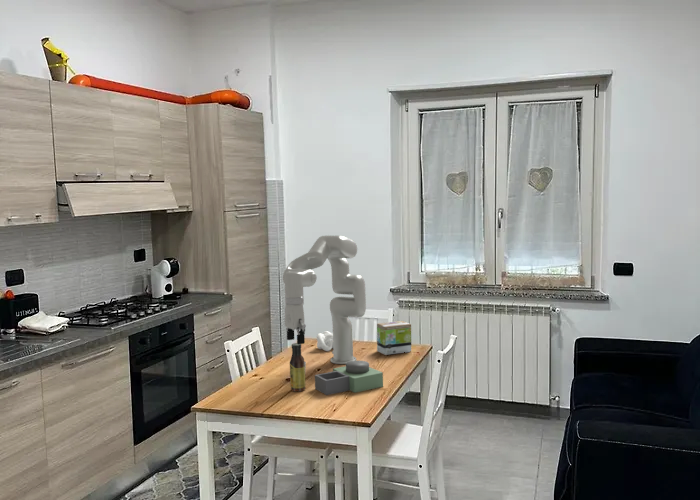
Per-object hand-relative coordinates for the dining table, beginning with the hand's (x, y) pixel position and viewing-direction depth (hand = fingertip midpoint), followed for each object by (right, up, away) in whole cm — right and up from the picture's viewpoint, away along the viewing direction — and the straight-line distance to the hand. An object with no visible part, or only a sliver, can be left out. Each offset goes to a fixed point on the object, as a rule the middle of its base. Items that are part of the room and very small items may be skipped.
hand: (295, 341), depth 268 cm
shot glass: (0, -19, +20) cm, 28 cm away
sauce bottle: (+1, -21, +2) cm, 21 cm away
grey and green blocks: (+21, -20, +5) cm, 29 cm away
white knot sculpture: (+11, -14, +70) cm, 72 cm away
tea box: (+45, -14, +61) cm, 77 cm away
